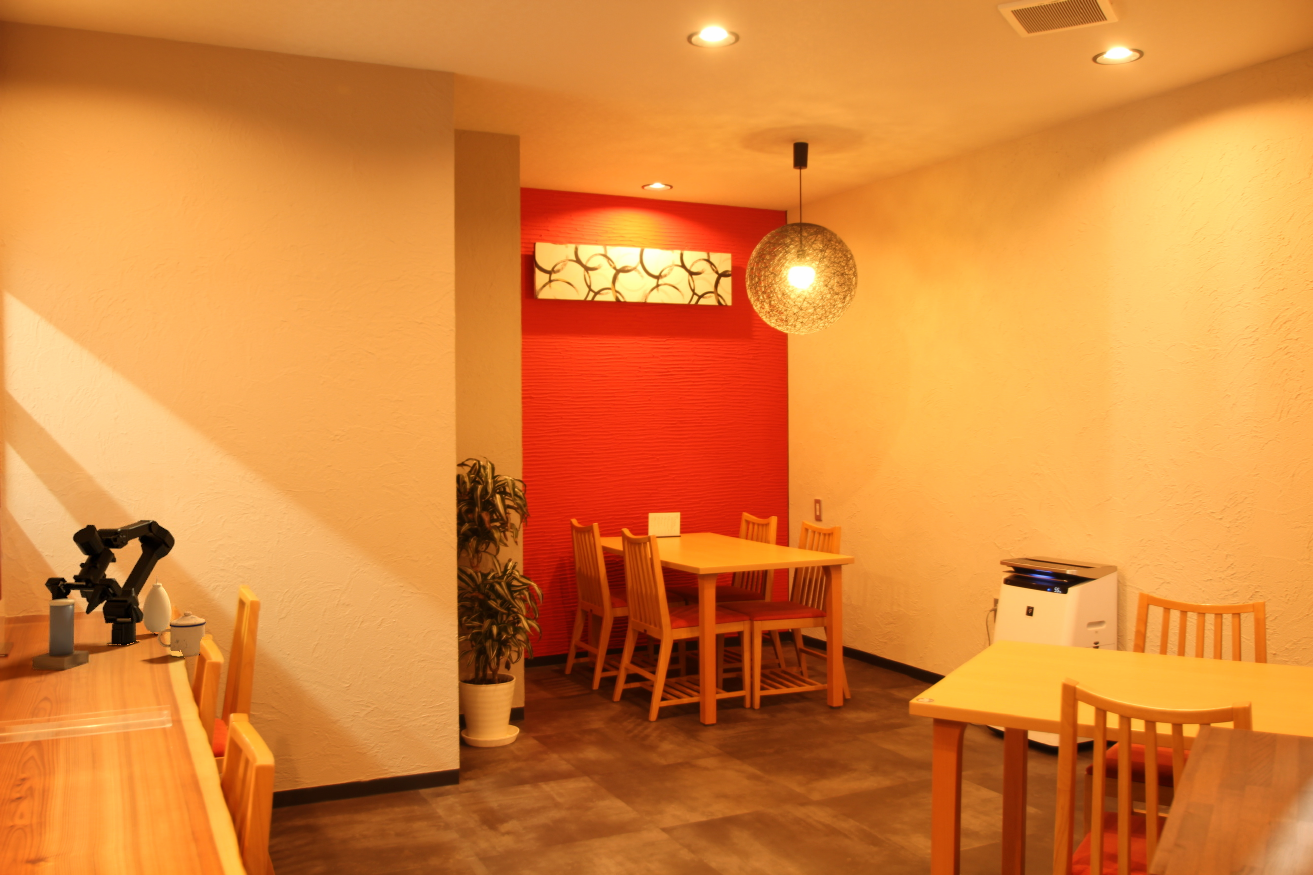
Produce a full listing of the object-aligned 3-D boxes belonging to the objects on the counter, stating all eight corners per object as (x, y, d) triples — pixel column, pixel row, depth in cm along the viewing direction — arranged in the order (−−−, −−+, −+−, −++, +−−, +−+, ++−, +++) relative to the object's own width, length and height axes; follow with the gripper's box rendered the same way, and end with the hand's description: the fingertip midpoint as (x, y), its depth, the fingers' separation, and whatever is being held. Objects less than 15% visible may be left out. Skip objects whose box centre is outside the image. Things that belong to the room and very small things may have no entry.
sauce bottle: (143, 632, 303) (143, 574, 303) (171, 630, 306) (171, 572, 306) (141, 637, 296) (142, 577, 296) (170, 635, 299) (171, 576, 299)
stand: (57, 661, 264) (57, 649, 264) (88, 662, 263) (88, 650, 263) (32, 668, 255) (32, 657, 255) (64, 669, 254) (64, 658, 254)
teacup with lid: (204, 649, 280) (204, 608, 280) (206, 655, 272) (206, 613, 272) (157, 653, 274) (157, 611, 274) (157, 659, 266) (158, 616, 266)
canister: (66, 650, 263) (67, 597, 263) (78, 653, 260) (79, 599, 260) (43, 654, 258) (44, 600, 258) (55, 656, 255) (56, 602, 255)
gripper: (140, 583, 278) (116, 630, 268) (75, 583, 279) (50, 629, 268) (123, 559, 271) (99, 607, 260) (57, 558, 271) (30, 606, 260)
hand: (70, 613), depth 262 cm, fingers open, 9 cm apart
